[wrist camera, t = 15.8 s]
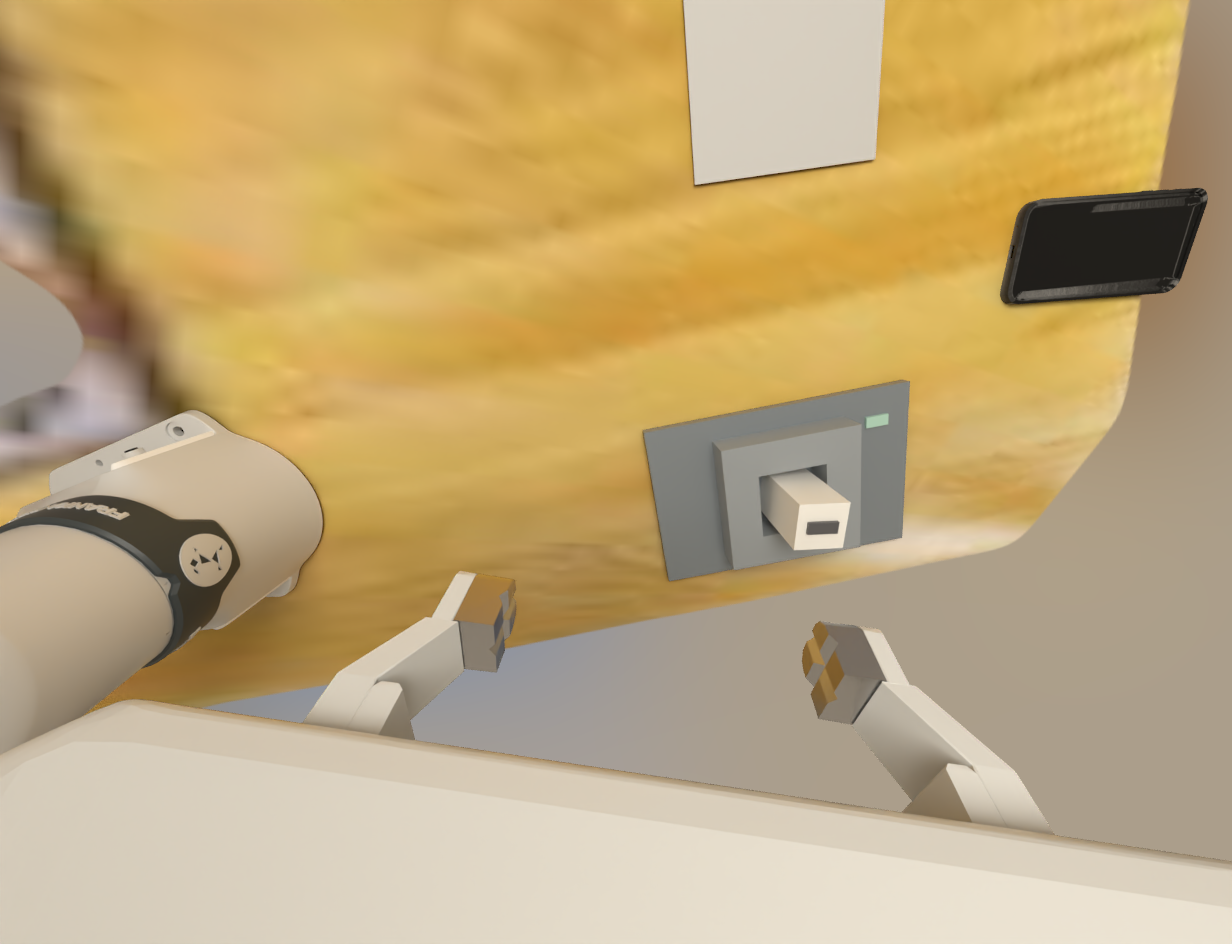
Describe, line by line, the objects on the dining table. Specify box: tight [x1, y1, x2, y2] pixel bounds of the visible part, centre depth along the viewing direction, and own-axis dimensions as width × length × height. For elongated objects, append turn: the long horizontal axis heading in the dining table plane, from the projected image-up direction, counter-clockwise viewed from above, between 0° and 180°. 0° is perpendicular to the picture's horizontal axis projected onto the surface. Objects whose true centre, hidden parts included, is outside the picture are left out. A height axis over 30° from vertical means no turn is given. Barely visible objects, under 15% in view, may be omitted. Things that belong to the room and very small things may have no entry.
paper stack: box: [683, 0, 885, 185], centre depth 33 cm, size 23×25×1 cm
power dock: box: [643, 380, 910, 581], centre depth 41 cm, size 24×16×4 cm, turn 101°
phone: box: [1000, 188, 1208, 304], centre depth 37 cm, size 8×1×15 cm
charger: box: [760, 468, 851, 550], centre depth 38 cm, size 4×4×8 cm
